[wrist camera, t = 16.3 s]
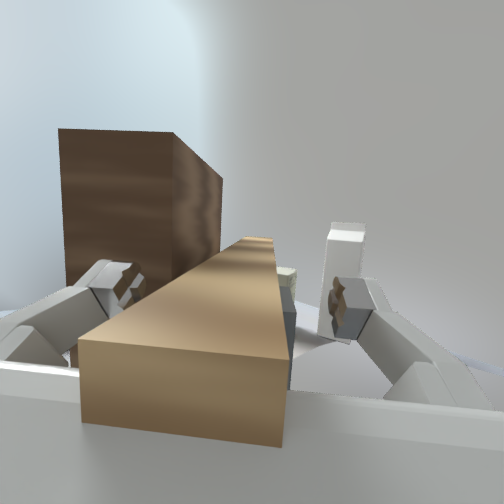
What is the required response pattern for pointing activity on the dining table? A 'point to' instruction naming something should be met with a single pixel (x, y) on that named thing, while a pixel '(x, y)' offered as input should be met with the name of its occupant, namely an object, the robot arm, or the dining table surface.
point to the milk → (340, 267)
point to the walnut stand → (136, 205)
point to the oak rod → (196, 354)
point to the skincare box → (287, 278)
